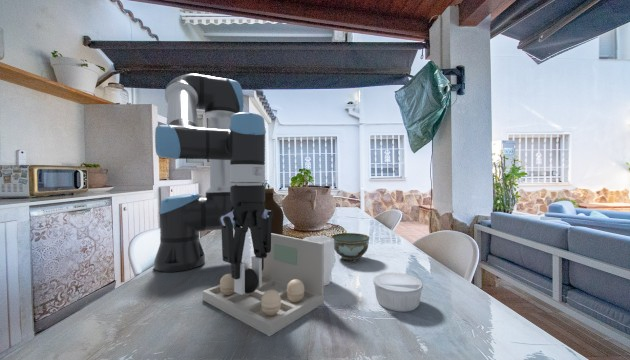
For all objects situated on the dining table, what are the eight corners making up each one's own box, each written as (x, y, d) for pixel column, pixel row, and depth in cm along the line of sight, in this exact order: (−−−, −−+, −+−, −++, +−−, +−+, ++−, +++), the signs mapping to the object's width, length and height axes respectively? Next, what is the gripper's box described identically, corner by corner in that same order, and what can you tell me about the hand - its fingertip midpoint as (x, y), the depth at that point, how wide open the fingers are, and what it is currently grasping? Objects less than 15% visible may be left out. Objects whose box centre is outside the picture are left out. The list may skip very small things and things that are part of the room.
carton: (202, 300, 65) (202, 241, 65) (258, 279, 78) (257, 230, 78) (269, 336, 50) (269, 261, 50) (323, 303, 63) (323, 243, 63)
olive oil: (274, 264, 91) (274, 189, 90) (247, 261, 94) (247, 189, 94) (288, 255, 101) (288, 188, 100) (263, 252, 104) (263, 187, 104)
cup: (331, 290, 71) (332, 244, 71) (298, 287, 73) (298, 242, 72) (336, 277, 80) (336, 236, 79) (306, 275, 81) (306, 235, 81)
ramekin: (396, 319, 56) (396, 294, 56) (363, 298, 66) (363, 276, 66) (433, 307, 62) (433, 284, 62) (397, 289, 72) (397, 269, 71)
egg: (246, 286, 63) (245, 264, 63) (261, 288, 62) (261, 266, 62) (235, 293, 59) (235, 270, 59) (251, 295, 58) (251, 272, 58)
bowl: (373, 265, 90) (373, 241, 90) (332, 265, 91) (332, 241, 90) (365, 253, 104) (365, 232, 104) (330, 253, 104) (330, 232, 104)
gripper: (223, 185, 51) (224, 308, 52) (287, 183, 65) (287, 281, 65) (202, 184, 56) (203, 297, 56) (265, 183, 69) (266, 274, 70)
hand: (248, 288), depth 61 cm, fingers closed on egg, 4 cm apart
